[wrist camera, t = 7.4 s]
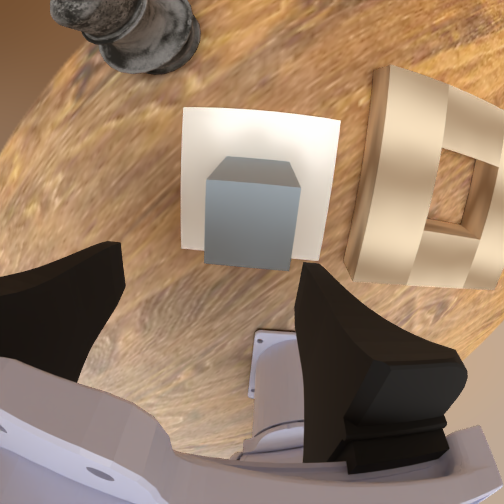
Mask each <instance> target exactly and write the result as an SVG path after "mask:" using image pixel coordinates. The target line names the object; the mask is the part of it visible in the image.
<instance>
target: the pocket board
mask: <svg viewBox="0 0 504 504" xmlns="http://www.w3.org/2000/svg"><path fill="white" fill-rule="evenodd" d="M442 148H445V149H448V150H451V151H454V152H458V153H461V154H464V155H467V156H470V157H472V158H475V159H476V162H475V167H474V172H473V177H472V182H471V186H470V191H469V195H468V199H467V203H466V207H465V211H464V215H463V218H462V222H461V225H460V224H454V223H449V222H444V221H438V220H432V219H427V215H428V211H429V207H430V203H431V199H432V195H433V190H434V186H435V181H436V176H437V171H438V166H439V161H440V155H441V149H442ZM343 261H344V263H345V265H346V268H347V270H348V272H349V274H350V276H351V279H352V281H353V282H364V283H379V284H393V285H409V286H426V287H443V288H462V289H482V290H495V287H496V285H497V283H498V280H499V278H500V275H501V273H502V270H503V268H504V110H502V109H500V108H498V107H497V106H495V105H493V104H491V103H489V102H487V101H485V100H483V99H480V98H478V97H476V96H474V95H472V94H470V93H467V92H465V91H463V90H461V89H458V88H456V87H453V86H451V85H449V84H446V83H444V82H441V81H438V80H436V79H433V78H430V77H428V76H425V75H422V74H419V73H416V72H413V71H410V70H407V69H404V68H400V67H397V66H394V65H388V66H384V67H381V68H378V69H375V70H374V71H373V83H372V93H371V103H370V112H369V120H368V128H367V136H366V143H365V150H364V157H363V163H362V169H361V175H360V181H359V187H358V193H357V198H356V203H355V209H354V214H353V219H352V224H351V228H350V233H349V238H348V242H347V247H346V251H345V256H344V260H343Z"/></svg>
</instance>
